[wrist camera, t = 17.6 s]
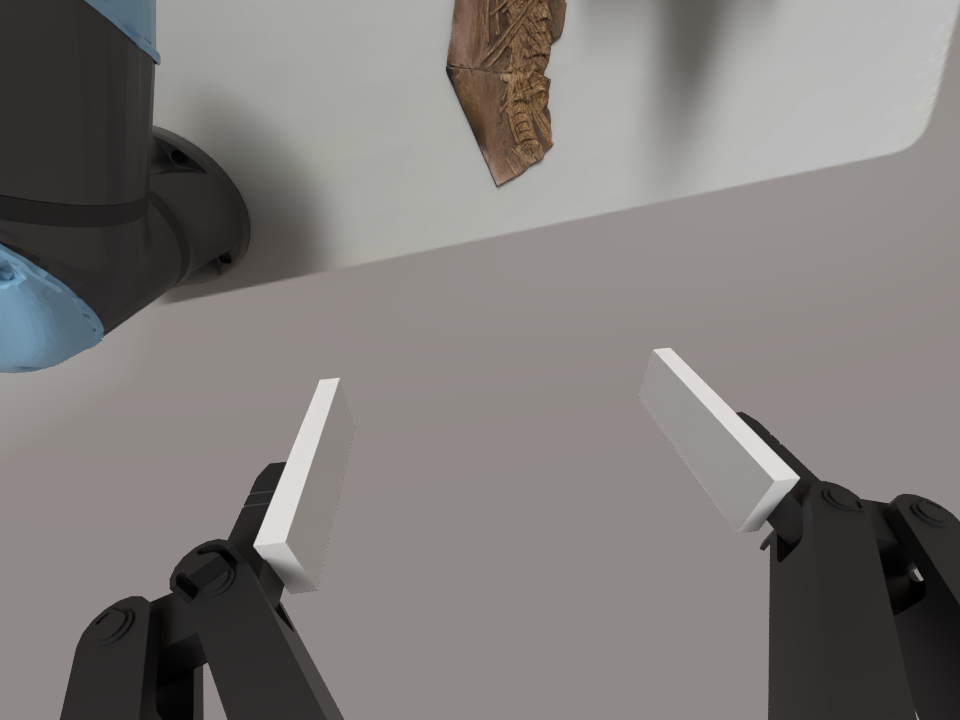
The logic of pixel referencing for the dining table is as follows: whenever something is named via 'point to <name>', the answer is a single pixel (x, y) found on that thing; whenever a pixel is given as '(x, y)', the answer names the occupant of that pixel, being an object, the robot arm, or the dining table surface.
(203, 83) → the dining table surface
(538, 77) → the wooden fragment
